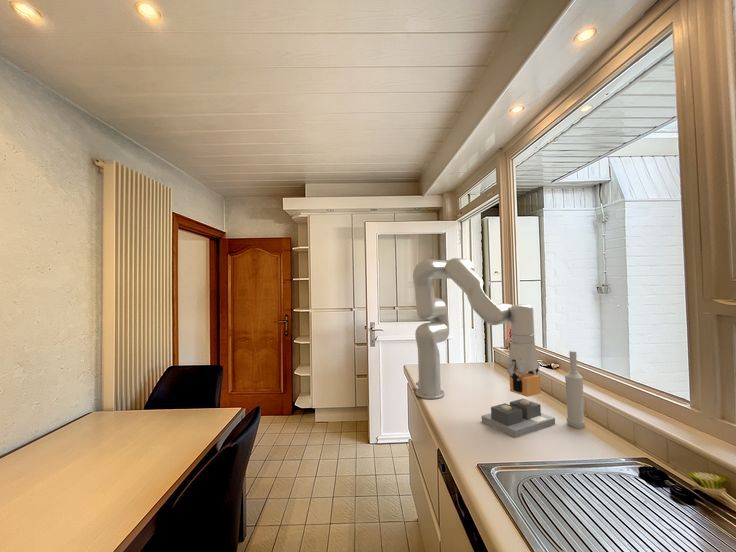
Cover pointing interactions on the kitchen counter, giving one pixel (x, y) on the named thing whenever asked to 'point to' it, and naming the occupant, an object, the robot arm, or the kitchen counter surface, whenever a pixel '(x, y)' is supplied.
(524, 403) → the toggle far
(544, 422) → the panel
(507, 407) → the toggle near
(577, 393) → the bottle
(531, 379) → the orange cube-like block
